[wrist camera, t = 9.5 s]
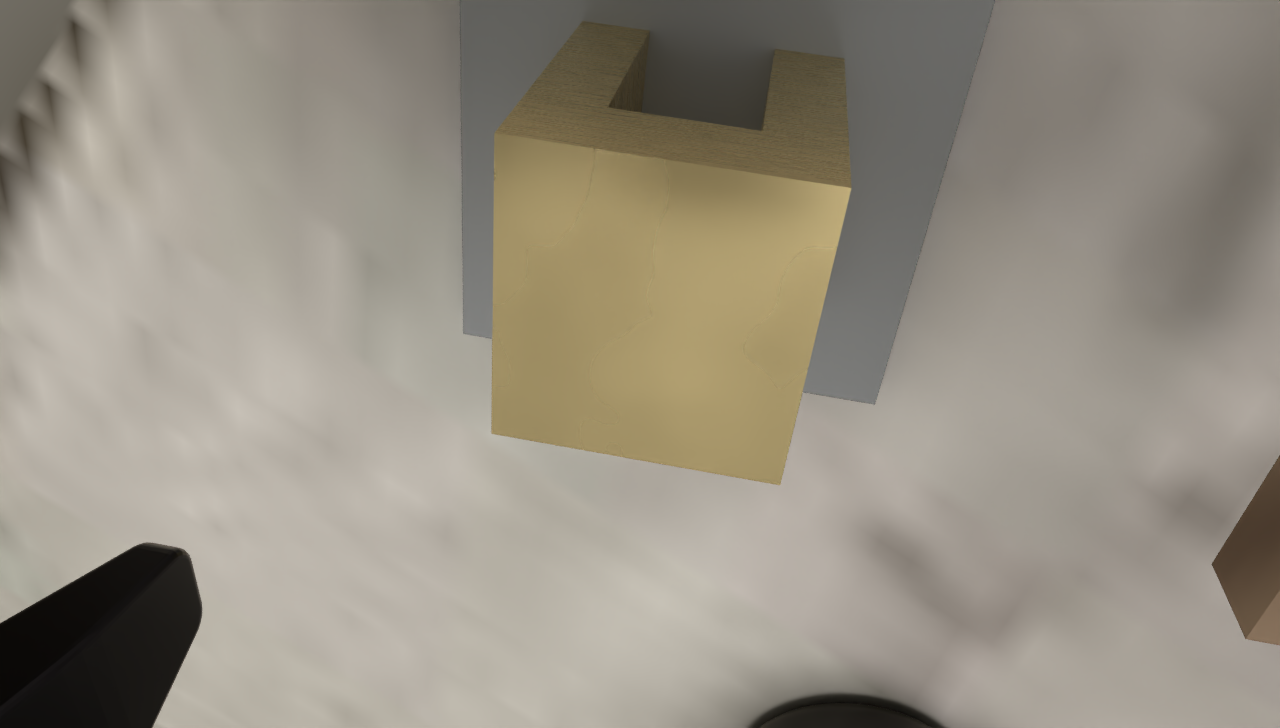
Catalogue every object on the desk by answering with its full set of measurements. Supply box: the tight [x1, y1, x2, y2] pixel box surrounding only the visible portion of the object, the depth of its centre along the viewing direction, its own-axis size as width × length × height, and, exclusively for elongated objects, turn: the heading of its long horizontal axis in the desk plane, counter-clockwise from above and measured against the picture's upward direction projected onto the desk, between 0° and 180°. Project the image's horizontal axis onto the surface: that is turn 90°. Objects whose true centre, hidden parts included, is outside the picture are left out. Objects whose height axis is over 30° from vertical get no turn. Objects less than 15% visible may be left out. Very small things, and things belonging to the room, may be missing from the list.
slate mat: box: [460, 0, 995, 404], centre depth 18 cm, size 9×9×1 cm
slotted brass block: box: [492, 21, 851, 485], centre depth 16 cm, size 5×5×6 cm
